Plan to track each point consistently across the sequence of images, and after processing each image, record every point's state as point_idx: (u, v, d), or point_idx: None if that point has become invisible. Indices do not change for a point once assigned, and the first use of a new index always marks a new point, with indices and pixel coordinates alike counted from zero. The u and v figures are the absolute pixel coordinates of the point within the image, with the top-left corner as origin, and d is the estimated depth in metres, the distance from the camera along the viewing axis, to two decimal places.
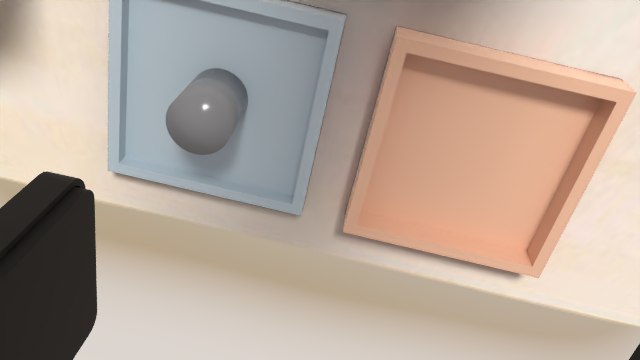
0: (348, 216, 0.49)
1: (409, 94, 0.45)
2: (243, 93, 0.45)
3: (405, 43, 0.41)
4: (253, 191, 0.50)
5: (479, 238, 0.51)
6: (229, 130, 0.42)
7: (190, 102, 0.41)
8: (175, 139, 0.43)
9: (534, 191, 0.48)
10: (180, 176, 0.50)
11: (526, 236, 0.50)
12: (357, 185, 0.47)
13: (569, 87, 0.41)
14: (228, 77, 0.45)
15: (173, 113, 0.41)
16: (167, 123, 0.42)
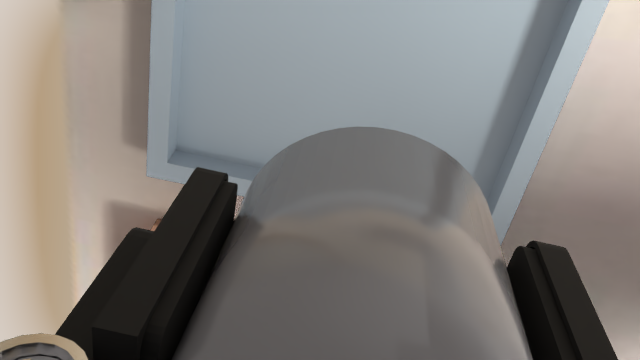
0: None
1: None
2: None
3: None
4: (174, 88, 0.26)
5: None
6: None
7: None
8: None
9: None
10: None
11: None
12: None
13: None
14: None
15: None
16: None
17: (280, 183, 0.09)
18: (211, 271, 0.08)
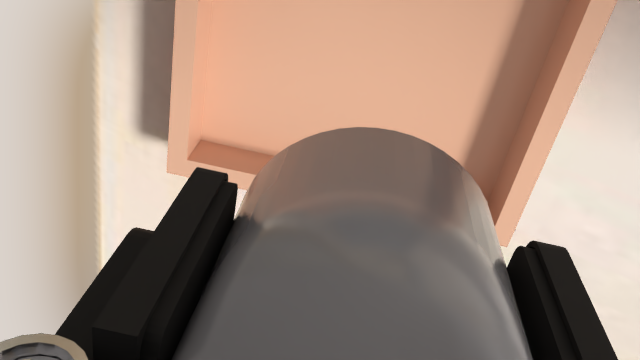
0: None
1: None
2: None
3: None
4: None
5: (210, 61, 0.28)
6: None
7: None
8: None
9: None
10: None
11: (228, 136, 0.30)
12: None
13: (526, 165, 0.26)
14: None
15: None
16: None
17: (280, 184, 0.09)
18: (210, 272, 0.08)
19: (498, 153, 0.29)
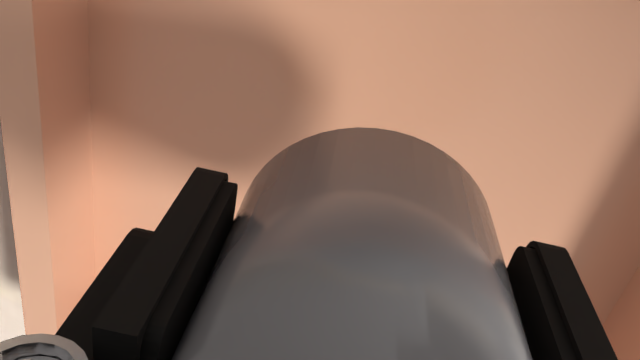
0: None
1: None
2: None
3: None
4: None
5: (97, 189, 0.17)
6: None
7: None
8: None
9: None
10: None
11: None
12: None
13: None
14: None
15: None
16: None
17: (279, 184, 0.09)
18: (210, 273, 0.08)
19: None
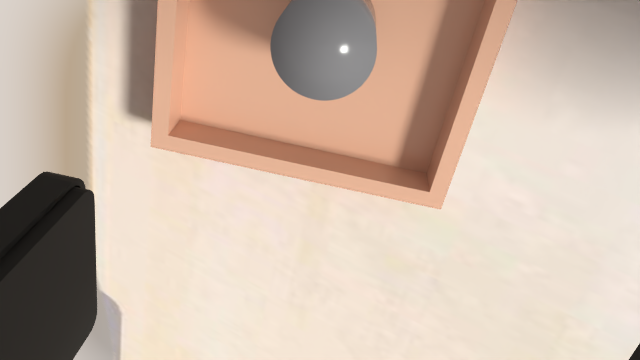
0: None
1: None
2: None
3: None
4: None
5: (187, 51, 0.33)
6: (315, 98, 0.27)
7: (362, 44, 0.26)
8: (296, 6, 0.25)
9: (278, 116, 0.34)
10: None
11: (204, 116, 0.35)
12: None
13: (453, 138, 0.31)
14: None
15: (343, 11, 0.25)
16: None
17: None
18: None
19: (433, 130, 0.34)
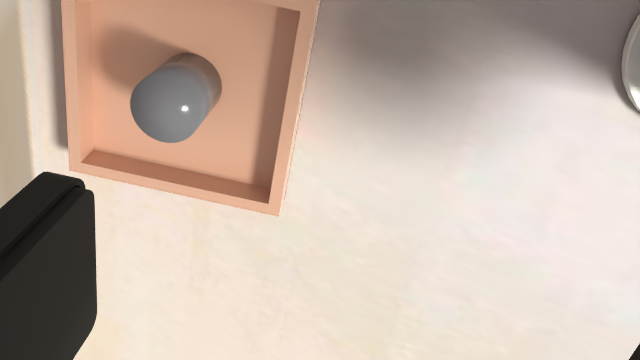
0: None
1: (249, 12, 0.41)
2: None
3: (310, 9, 0.38)
4: None
5: (94, 102, 0.46)
6: (161, 140, 0.40)
7: (190, 108, 0.38)
8: (145, 81, 0.38)
9: (163, 148, 0.47)
10: None
11: (110, 147, 0.48)
12: None
13: (278, 166, 0.44)
14: None
15: (176, 87, 0.38)
16: (164, 77, 0.38)
17: (167, 60, 0.42)
18: None
19: (273, 158, 0.47)
